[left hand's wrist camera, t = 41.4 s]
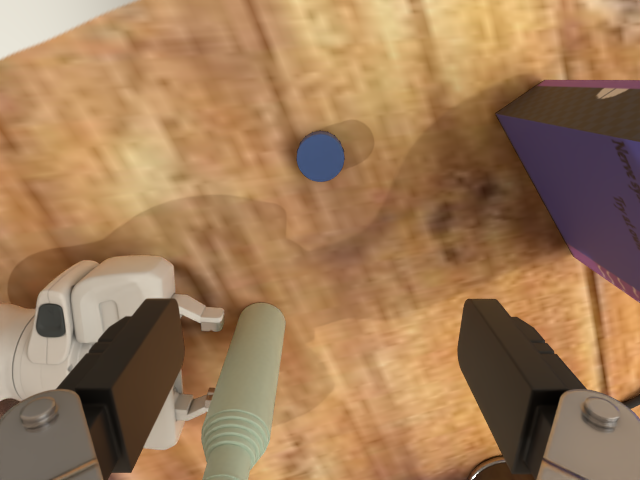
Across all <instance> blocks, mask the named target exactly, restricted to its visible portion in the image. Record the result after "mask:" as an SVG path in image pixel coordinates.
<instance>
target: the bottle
mask: <svg viewBox="0 0 640 480" xmlns="http://www.w3.org/2000/svg"><path fill="white" fill-rule="evenodd" d="M284 332H285V318H284V316H283V314H282V312H281V311H280V310H279V309H278V308H276V307H275V306H273V305H271V304H267V303H255V304H252V305H249V306H248V307H246V308H245V309H244V310H243V311H242V312H241V314H240V317H239V320H238V323H237V326H236V329H235V332H234V335H233V338H232V341H231V343H230V346H229V349H228V352H227V355H226V358H225V361H224V364H223V367H222V370H221V373H220V376H219V379H218V382H217V385H216V388H215V391H214V394H213V397H212V400H211V403H210V406H209V409H208V412H207V415H206V418H205V421H204V424H203V427H202V437H201V440H202V445H203V449H204V453H205V457H206V461H207V466H206V469H205V472H204V476H203V479H202V480H248V477H249V472H250V470H251V469H252V467H253V466H254V465H255V464H256V462H257V461H258V460H259V459H260V457H261V456H262V455H263V454H264V452H265V451H266V448H267V446H268V444H269V441H270V434H271V427H272V419H273V412H274V405H275V397H276V390H277V383H278V376H279V368H280V361H281V354H282V347H283V339H284Z"/></svg>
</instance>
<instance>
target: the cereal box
mask: <svg viewBox="0 0 640 480" xmlns="http://www.w3.org/2000/svg"><path fill="white" fill-rule="evenodd" d="M495 114H496V116H497V118H498V120H499V122H500V123H501V125H502V127H503V129H504V131H505V133H506V134H507V136H508V138H509V140H510V142H511V144H512V145H513V147H514V149H515V151H516V153H517V155H518V156H519V158H520V160H521V162H522V164H523V165H524V167H525V169H526V171H527V173H528V175H529V176H530V178H531V180H532V182H533V184H534V186H535V187H536V189H537V191H538V193H539V195H540V197H541V198H542V200H543V202H544V204H545V206H546V208H547V209H548V211H549V213H550V215H551V217H552V219H553V220H554V222H555V224H556V226H557V228H558V230H559V231H560V233H561V235H562V237H563V239H564V241H565V242H566V244H567V246H568V248H569V250H570V251H571V253H572V255H573V257H575V258H576V259H578V260H579V261H581V262H582V263H583V264H585V265H586V266H588V267H589V268H591V269H592V270H593V271H595V272H596V273H598V274H599V275H601V276H602V277H603V278H605V279H606V280H608V281H609V282H611V283H612V284H613V285H615V286H616V287H618V288H619V289H621V290H622V291H624V292H625V293H626V294H628V295H629V296H631V297H632V298H634V299H635V300H636V301H638V302H639V303H640V80H544V81H542V82H541V83H539V84H538V85H536V86H535V87H533V88H532V89H530V90H529V91H527V92H526V93H525V94H523V95H522V96H520V97H519V98H517V99H516V100H514V101H513V102H511V103H510V104H508V105H507V106H506V107H504V108H503V109H501V110H500V111H498V112H497V113H495Z"/></svg>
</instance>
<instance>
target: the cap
mask: <svg viewBox="0 0 640 480" xmlns="http://www.w3.org/2000/svg"><path fill="white" fill-rule="evenodd" d="M344 160H345V158H344V150H343V148H342V146H341V143H340V141H339V140H338V139H337V138H336V137H335V135H332V134H331V133H328V132H325V131H316V132H312V133H310V134H309V135H307V136H305V138H304V139H303V140H302V142H300V146H299V149H298V150H297V164H298V167H299V169H300V171H301V172H302V173H303V175H305V176H306V177H307V178H309V179H310V180H313V181H317V182H324V181H328V180H331V179H332V178H334V177H335V176H337V175H338V174H339V172H340V171H341V169H342V167H343V164H344Z"/></svg>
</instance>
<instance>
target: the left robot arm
mask: <svg viewBox="0 0 640 480" xmlns="http://www.w3.org/2000/svg"><path fill="white" fill-rule="evenodd" d="M184 350H185V349H184V340H183V333H182V326H181V319H180V313H179V306H178V303H177V300H176V299H174V298H147V299H145V300H144V301H143V303H142V304H141V305H140V306H139V308H138V309H137V310H136V311H135V313H134V314H133V315H132V316H125V317H124V318H122V319H120V320H119V321H117V322H116V323H114V324H113V325H111V326H110V327H108V328H107V330H106V331H105V332H104V333H103V334H102V336H101V337H100V338H99V339H98V342H96V343H95V344H94V345H93V346H92V347H91V348H90V350H89V353H86V354H85V355H84V357H83V358H82V359H81V360H80V361H79V362H78V364H77V365H76V366H75V367H74V368H73V369H72V371H71V372H70V373H69V374H68V375H67V376H66V378H65V379H64V380H63V381H62V382H61V384H60V385H59V386H58V387H57V388H56V389H54V390H48V391H44V392H41V393H38V394H35V395H32V396H30V397H28V398H26V399H24V400H22V401H21V402H19V403H17V404H16V405H14V406H13V407H12V408H10V409H9V410H8V411H7V412H6V413H5V414H4V415H3V416H2V417H1V419H0V480H108V478H109V476H110V474H111V473H131V472H132V470H133V468H134V466H135V464H136V462H137V460H138V457H139V455H140V453H141V451H142V449H143V447H144V445H145V443H146V441H147V439H148V437H149V435H150V432H151V430H152V428H153V426H154V424H155V422H156V420H157V418H158V416H159V414H160V412H161V410H162V408H163V405H164V403H165V401H166V399H167V397H168V395H169V393H170V391H171V389H172V387H173V385H174V383H175V380H176V378H177V376H178V374H179V372H180V370H181V368H182V365H183V360H184ZM458 361H459V365H460V368H461V371H462V373H463V375H464V377H465V379H466V381H467V383H468V385H469V387H470V389H471V391H472V393H473V395H474V397H475V399H476V401H477V404H478V406H479V408H480V410H481V412H482V414H483V416H484V418H485V420H486V422H487V424H488V426H489V428H490V430H491V432H492V434H493V436H494V438H495V441H496V443H497V445H498V447H499V449H500V451H501V453H502V455H503V456H502V457H496V458H492V459H490V460H487V461H485V462H483V463H481V464H480V465H478V466H477V467H476V468H475V469H474V470H473V471H472V472H471V473H470V475H469V477H468V479H467V480H640V419H639V417H638V416H637V415H636V414H635V413H634V412H633V411H632V410H631V408H634V407H636V406H638V405H640V394H639V395H638V396H636V397H634V398H632V399H630V400H628V401H626V402H624V403H621V402H619V401H618V400H616V399H614V398H612V397H610V396H608V395H605V394H602V393H599V392H596V391H592V390H587V389H586V388H585V387H584V385H583V384H582V383H581V382H580V381H579V380H578V378H577V377H576V376H575V375H574V374H573V373H572V372H571V370H570V369H569V368H568V367H567V366H566V365H565V363H564V362H563V361H562V360H561V359H560V358H559V356H558V355H557V354H554V351H553V349H552V348H551V347H550V346H549V345H548V344H547V343H545V340H544V339H543V338H542V337H541V336H540V334H539V333H538V332H537V331H536V330H535V329H534V328H533V327H532V326H530V325H529V324H527V323H526V322H524V321H522V320H521V319H519V318H518V317H511V316H510V315H509V314H508V313H507V311H506V310H505V309H504V308H503V306H502V305H501V304H500V303H499V302H498V301H497V300H496V299H467V300H466V301H465V304H464V308H463V314H462V321H461V328H460V334H459V341H458Z"/></svg>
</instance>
